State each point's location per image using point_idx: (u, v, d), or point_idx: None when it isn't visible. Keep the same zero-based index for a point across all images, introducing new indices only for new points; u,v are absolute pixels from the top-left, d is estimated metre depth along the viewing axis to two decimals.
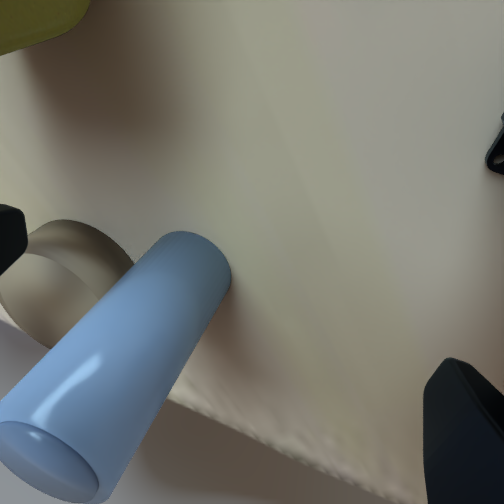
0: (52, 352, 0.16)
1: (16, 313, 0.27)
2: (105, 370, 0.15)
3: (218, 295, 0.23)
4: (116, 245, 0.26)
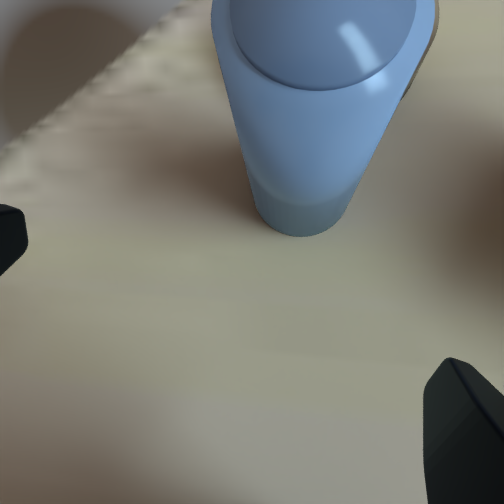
0: None
1: None
2: (360, 145, 0.12)
3: (277, 220, 0.20)
4: None
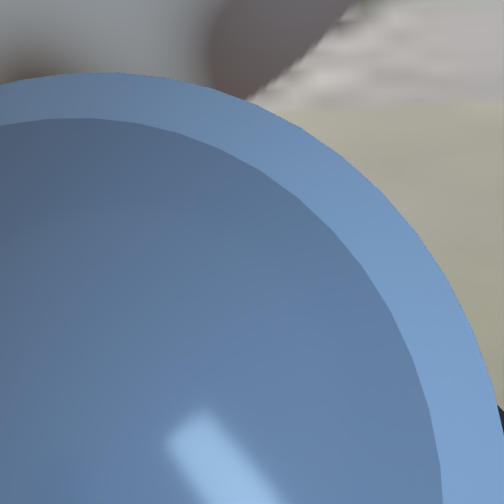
0: None
1: None
2: None
3: None
4: None
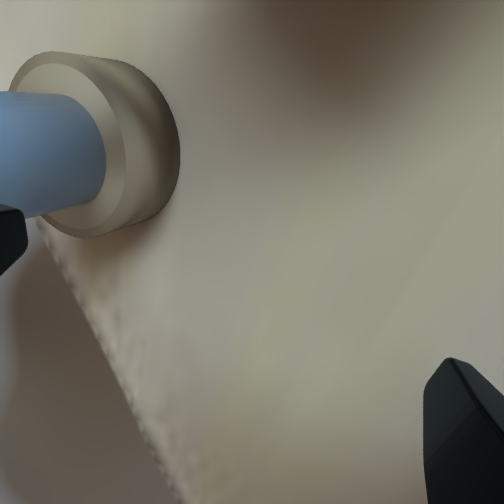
0: None
1: None
2: None
3: (60, 201, 0.18)
4: (178, 151, 0.21)
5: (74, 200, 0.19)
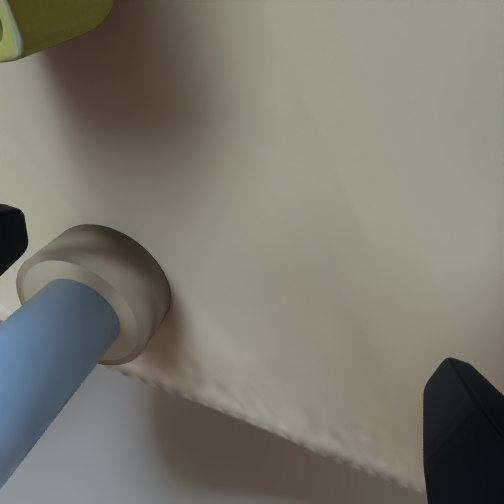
0: None
1: None
2: None
3: (97, 344, 0.23)
4: (141, 248, 0.25)
5: (106, 336, 0.23)
